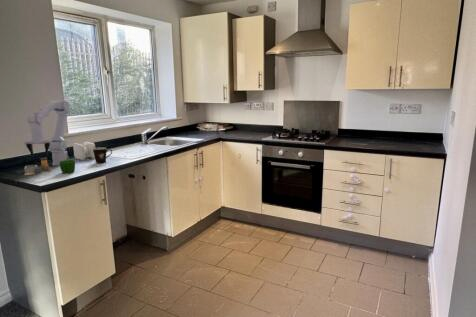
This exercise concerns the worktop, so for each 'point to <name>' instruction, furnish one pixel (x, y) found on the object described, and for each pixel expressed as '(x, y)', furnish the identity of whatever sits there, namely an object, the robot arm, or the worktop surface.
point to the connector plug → (44, 162)
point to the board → (39, 173)
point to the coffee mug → (100, 154)
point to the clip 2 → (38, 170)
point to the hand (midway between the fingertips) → (39, 155)
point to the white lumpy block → (83, 150)
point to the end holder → (30, 168)
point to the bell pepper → (67, 166)
